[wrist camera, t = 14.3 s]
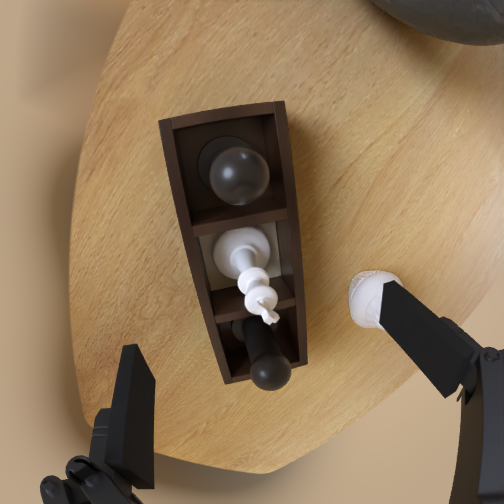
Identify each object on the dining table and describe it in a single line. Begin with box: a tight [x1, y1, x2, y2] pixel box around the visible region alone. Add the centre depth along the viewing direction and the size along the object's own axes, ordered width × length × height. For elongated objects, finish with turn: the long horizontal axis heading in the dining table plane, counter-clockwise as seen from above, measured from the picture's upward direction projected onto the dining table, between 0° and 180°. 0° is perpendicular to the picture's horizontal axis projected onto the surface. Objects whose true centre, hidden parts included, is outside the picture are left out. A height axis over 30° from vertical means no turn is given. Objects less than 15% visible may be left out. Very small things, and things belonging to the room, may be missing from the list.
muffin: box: [348, 270, 404, 330], centre depth 26 cm, size 6×6×7 cm
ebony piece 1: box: [197, 136, 270, 205], centre depth 18 cm, size 4×4×9 cm
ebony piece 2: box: [230, 311, 291, 391], centre depth 24 cm, size 4×4×9 cm
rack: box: [158, 101, 308, 385], centre depth 23 cm, size 8×23×5 cm, turn 8°
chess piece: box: [211, 225, 280, 325], centre depth 20 cm, size 5×5×10 cm
